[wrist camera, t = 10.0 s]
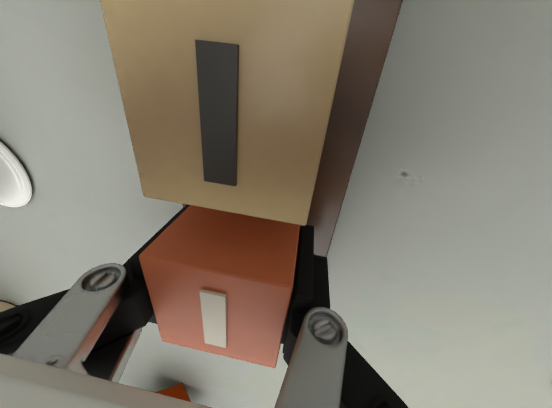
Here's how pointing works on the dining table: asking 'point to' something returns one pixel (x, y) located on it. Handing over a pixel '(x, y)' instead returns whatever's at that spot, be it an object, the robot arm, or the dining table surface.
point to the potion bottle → (175, 392)
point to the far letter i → (229, 98)
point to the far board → (350, 111)
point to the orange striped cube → (223, 282)
